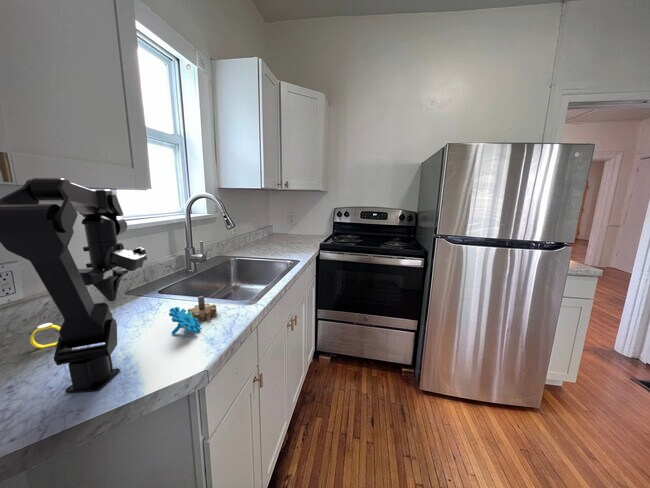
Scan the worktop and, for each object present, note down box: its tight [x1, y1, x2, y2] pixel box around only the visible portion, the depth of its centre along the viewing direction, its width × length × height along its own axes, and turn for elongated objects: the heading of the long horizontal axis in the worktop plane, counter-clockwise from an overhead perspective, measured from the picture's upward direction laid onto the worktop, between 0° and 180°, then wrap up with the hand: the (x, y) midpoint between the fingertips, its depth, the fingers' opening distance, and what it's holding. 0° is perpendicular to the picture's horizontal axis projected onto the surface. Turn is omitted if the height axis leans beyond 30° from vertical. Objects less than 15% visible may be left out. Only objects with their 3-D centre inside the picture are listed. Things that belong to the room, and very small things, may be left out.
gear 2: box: [187, 295, 218, 323], centre depth 85 cm, size 9×9×6 cm
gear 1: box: [168, 306, 202, 335], centre depth 76 cm, size 11×6×10 cm
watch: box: [29, 322, 61, 350], centre depth 69 cm, size 6×3×6 cm, turn 125°
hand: (112, 300), depth 68 cm, fingers closed
